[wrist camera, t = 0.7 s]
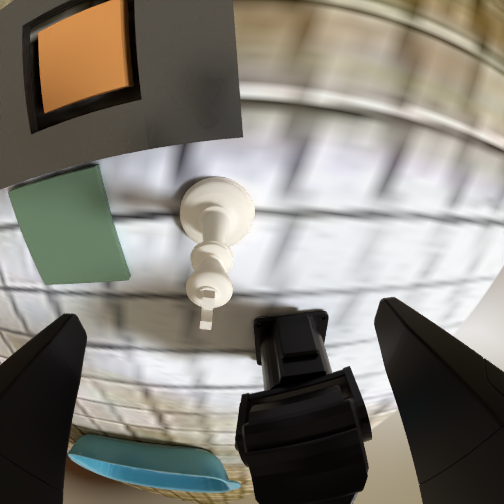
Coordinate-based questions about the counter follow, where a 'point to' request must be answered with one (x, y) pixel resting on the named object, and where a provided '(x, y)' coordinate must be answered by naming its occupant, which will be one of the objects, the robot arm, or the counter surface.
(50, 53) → the button
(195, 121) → the breaker guard
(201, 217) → the chess piece
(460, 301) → the counter surface
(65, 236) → the mat
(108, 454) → the casserole dish
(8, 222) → the counter surface
